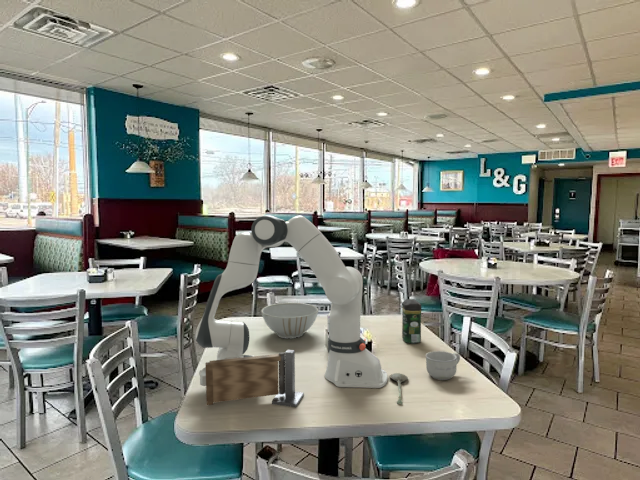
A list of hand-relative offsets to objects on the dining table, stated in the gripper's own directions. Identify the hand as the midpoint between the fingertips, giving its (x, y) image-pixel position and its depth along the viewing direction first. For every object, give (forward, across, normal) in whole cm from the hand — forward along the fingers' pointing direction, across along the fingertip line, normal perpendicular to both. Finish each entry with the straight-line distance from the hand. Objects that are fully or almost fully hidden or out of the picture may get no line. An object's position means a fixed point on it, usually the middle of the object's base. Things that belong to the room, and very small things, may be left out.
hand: (233, 384), depth 128 cm
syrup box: (-42, +46, +7) cm, 62 cm away
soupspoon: (+4, +54, +7) cm, 55 cm away
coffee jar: (-39, +81, +7) cm, 90 cm away
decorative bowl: (-62, +30, +7) cm, 70 cm away
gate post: (+2, +17, +6) cm, 18 cm away
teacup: (-1, +75, +7) cm, 75 cm away
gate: (+1, +4, +5) cm, 6 cm away
